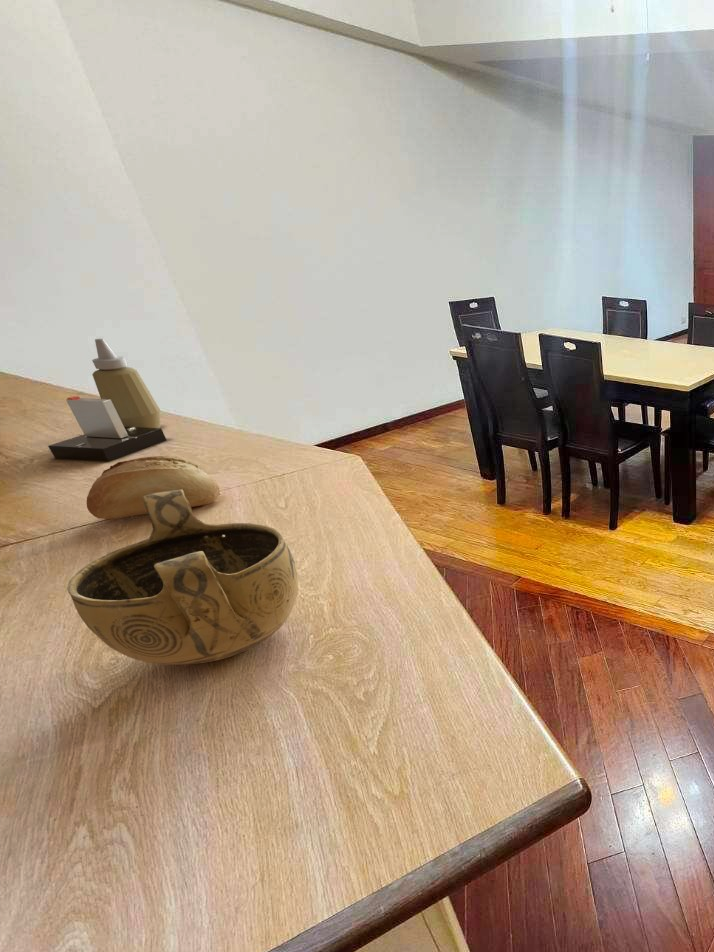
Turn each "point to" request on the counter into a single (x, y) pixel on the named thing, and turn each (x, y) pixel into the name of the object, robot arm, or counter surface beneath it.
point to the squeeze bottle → (124, 389)
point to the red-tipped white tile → (97, 417)
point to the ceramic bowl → (188, 588)
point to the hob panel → (107, 445)
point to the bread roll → (147, 485)
